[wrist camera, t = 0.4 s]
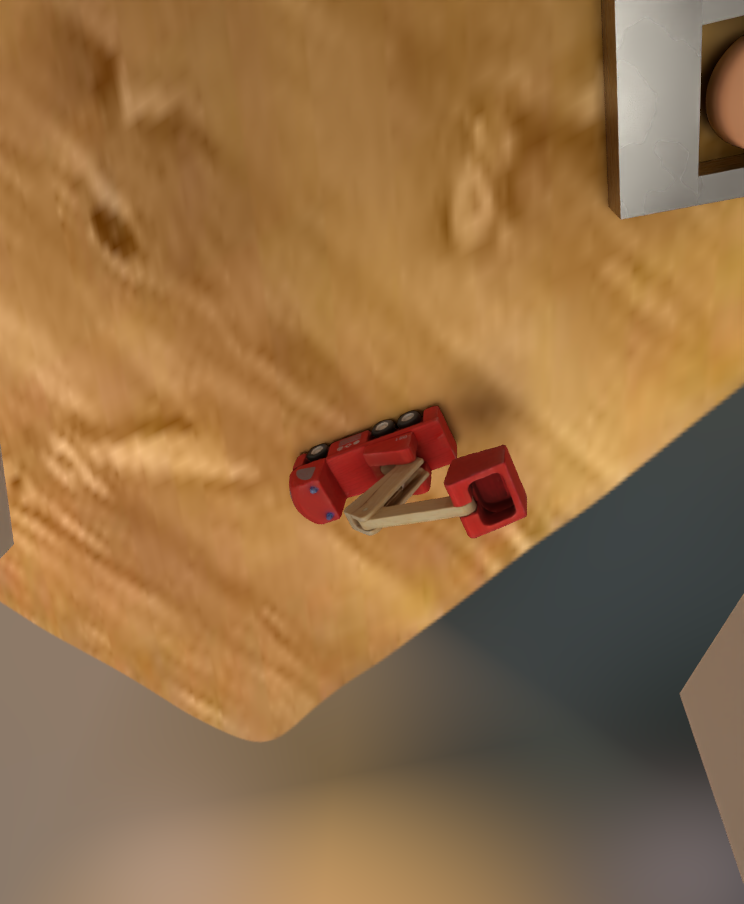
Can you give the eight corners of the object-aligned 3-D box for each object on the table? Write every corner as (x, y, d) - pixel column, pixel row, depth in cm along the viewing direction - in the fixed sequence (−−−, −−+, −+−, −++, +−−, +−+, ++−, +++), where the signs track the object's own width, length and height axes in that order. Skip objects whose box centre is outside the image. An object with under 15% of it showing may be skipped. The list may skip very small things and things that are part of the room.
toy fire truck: (291, 452, 42) (248, 549, 34) (498, 377, 38) (507, 467, 29) (315, 493, 43) (280, 596, 35) (517, 425, 39) (531, 524, 31)
